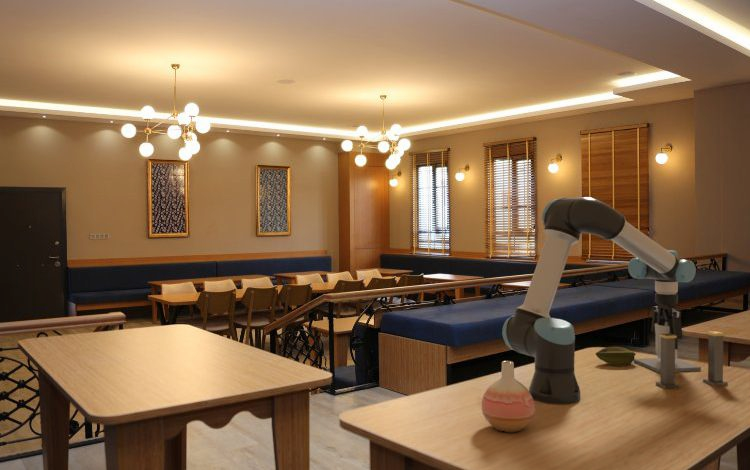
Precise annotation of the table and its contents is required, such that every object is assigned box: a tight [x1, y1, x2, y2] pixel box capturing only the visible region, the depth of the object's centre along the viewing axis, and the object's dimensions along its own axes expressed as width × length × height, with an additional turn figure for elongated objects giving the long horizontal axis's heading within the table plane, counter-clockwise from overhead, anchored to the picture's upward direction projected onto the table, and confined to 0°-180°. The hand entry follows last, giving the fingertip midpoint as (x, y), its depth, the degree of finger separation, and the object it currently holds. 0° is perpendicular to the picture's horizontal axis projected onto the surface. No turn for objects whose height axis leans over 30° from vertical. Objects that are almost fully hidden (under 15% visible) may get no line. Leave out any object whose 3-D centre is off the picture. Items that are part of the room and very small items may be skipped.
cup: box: [655, 322, 676, 359], centre depth 228 cm, size 8×8×12 cm
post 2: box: [702, 330, 729, 387], centre depth 204 cm, size 5×5×17 cm
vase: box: [481, 360, 536, 433], centre depth 164 cm, size 14×14×18 cm
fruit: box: [595, 346, 637, 367], centre depth 232 cm, size 11×12×7 cm
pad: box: [633, 357, 702, 374], centre depth 228 cm, size 16×16×1 cm
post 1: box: [655, 333, 681, 390], centre depth 202 cm, size 5×5×17 cm
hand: (666, 355), depth 228 cm, fingers closed on cup, 7 cm apart
